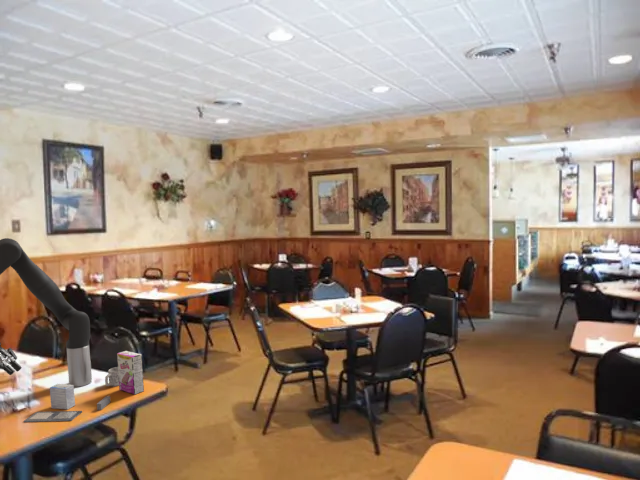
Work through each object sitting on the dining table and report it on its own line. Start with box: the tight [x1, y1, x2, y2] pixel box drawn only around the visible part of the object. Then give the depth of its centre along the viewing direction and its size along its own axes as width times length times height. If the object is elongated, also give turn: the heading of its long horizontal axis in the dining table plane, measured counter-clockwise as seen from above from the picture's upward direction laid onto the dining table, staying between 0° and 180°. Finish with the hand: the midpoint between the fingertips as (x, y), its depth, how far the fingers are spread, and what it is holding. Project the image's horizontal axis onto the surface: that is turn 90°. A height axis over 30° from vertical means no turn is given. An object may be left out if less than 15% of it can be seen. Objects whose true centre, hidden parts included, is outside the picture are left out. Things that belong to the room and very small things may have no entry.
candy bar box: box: [116, 350, 145, 395], centre depth 213 cm, size 11×5×16 cm, turn 56°
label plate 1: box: [23, 410, 60, 423], centre depth 188 cm, size 8×9×1 cm
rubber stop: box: [96, 395, 111, 411], centre depth 197 cm, size 8×2×2 cm, turn 178°
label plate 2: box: [47, 410, 83, 422], centre depth 188 cm, size 8×9×1 cm
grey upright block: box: [49, 383, 76, 410], centre depth 198 cm, size 8×4×9 cm, turn 74°
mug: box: [104, 366, 119, 387], centre depth 221 cm, size 10×7×7 cm
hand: (16, 371), depth 197 cm, fingers open, 3 cm apart
